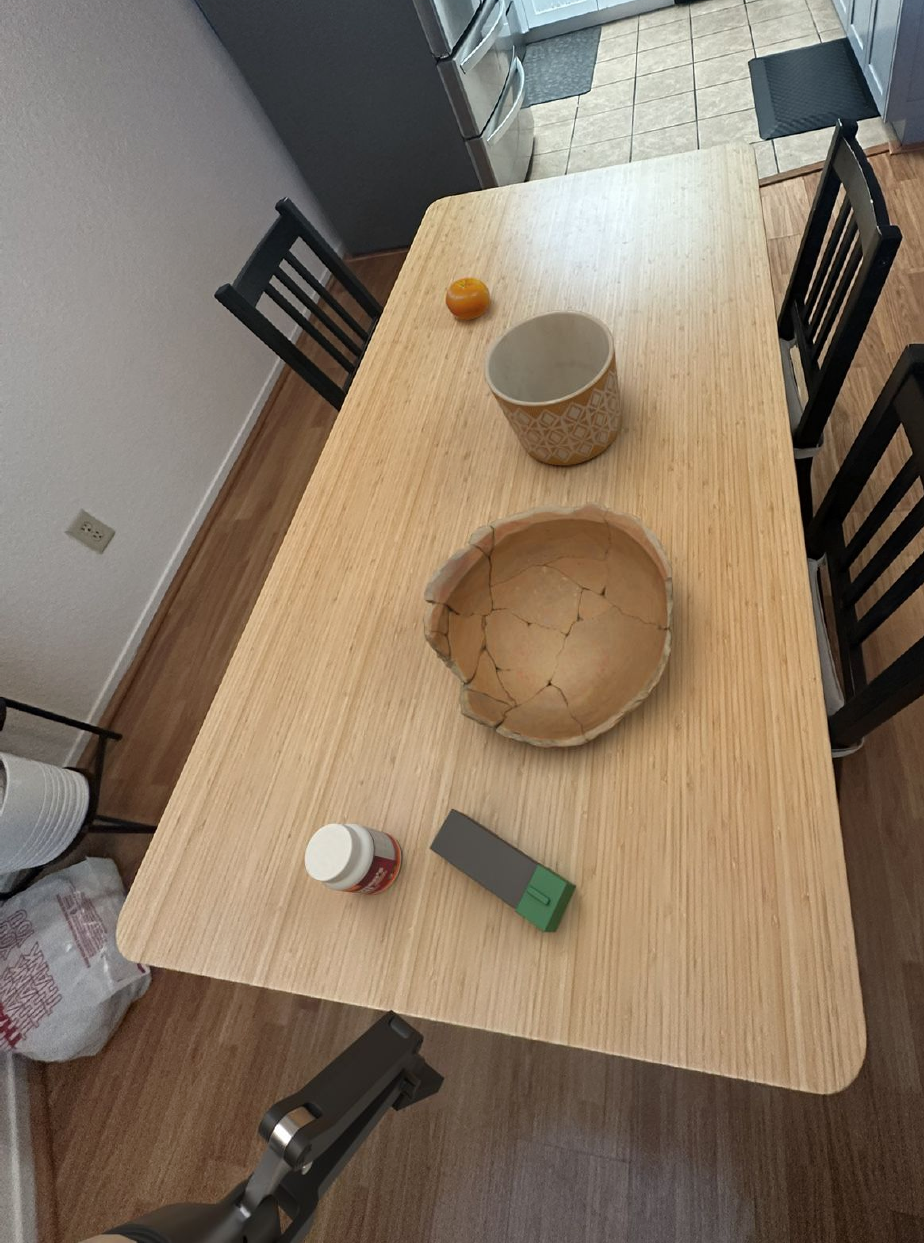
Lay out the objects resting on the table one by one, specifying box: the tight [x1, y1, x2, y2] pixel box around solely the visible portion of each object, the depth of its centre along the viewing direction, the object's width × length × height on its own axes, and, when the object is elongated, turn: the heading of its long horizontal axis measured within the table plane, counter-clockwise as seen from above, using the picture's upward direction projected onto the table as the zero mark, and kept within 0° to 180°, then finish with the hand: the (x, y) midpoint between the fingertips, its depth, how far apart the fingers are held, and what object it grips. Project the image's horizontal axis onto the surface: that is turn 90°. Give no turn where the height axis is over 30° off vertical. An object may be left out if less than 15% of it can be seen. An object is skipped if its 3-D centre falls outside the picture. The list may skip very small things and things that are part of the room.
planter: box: [483, 309, 623, 466], centre depth 99 cm, size 19×19×16 cm
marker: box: [429, 808, 577, 933], centre depth 68 cm, size 15×5×5 cm, turn 60°
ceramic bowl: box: [422, 501, 675, 749], centre depth 79 cm, size 30×27×15 cm
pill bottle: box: [304, 822, 402, 896], centre depth 69 cm, size 6×6×11 cm
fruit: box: [445, 277, 491, 321], centre depth 126 cm, size 8×8×8 cm
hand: (362, 1203), depth 39 cm, fingers open, 13 cm apart
